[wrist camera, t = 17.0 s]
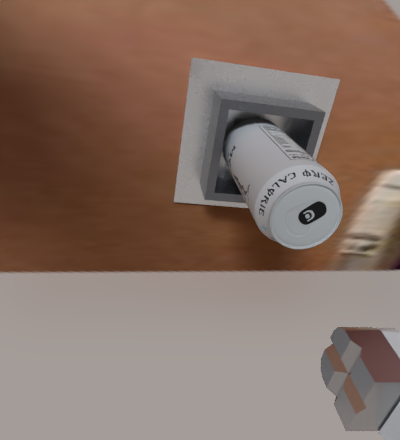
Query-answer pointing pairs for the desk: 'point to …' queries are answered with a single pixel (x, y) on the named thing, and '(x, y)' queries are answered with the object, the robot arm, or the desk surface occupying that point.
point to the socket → (238, 112)
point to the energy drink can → (282, 185)
